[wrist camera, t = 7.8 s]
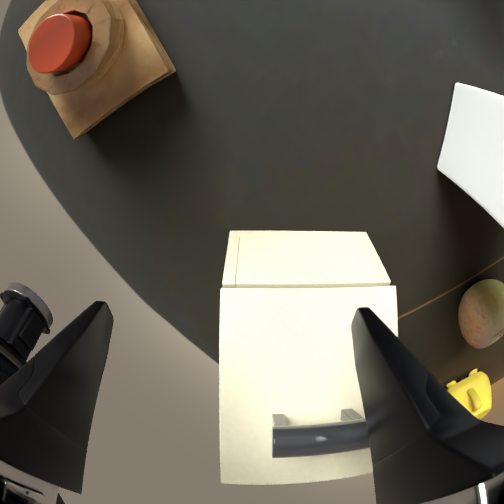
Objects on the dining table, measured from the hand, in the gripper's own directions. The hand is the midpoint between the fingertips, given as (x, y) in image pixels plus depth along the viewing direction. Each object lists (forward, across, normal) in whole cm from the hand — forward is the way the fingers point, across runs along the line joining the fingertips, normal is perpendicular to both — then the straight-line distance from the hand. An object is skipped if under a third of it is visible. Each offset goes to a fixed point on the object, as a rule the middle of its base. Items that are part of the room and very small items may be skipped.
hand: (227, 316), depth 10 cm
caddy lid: (+1, -4, +8) cm, 9 cm away
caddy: (+12, -4, +10) cm, 16 cm away
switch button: (+9, +10, -11) cm, 17 cm away
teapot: (+12, -43, +38) cm, 59 cm away
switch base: (+12, +10, -11) cm, 19 cm away
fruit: (+12, -26, +12) cm, 31 cm away
